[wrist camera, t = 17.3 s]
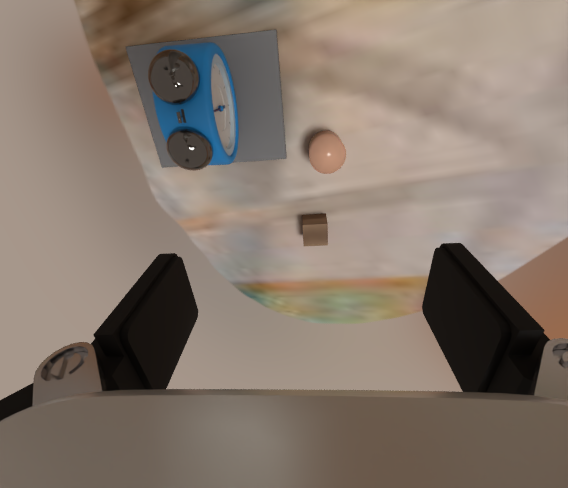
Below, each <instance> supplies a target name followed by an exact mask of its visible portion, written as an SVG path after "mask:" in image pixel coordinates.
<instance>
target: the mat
mask: <svg viewBox="0 0 568 488" xmlns="http://www.w3.org/2000/svg"><path fill="white" fill-rule="evenodd" d="M208 42H211V43H215V44H217V45H218V46H219V47H220V49H221V50H222V52H223V53H224V55H225V58H226V60H227V63H228V66H229V69H230V73H231V76H232V81H233V85H234V90H235V96H236V103H237V112H238V127H239V138H238V149H237V154H236V157H235V159H234V161H233V162H247V161H261V160H275V159H286V145H285V132H284V119H283V107H282V94H281V81H280V68H279V56H278V43H277V30H269V31H260V32H251V33H242V34H233V35H224V36H216V37H207V38H198V39H189V40H180V41H172V42H163V43H154V44H145V45H136V46H127V47H126V50H127V54H128V57H129V60H130V64H131V67H132V70H133V74H134V77H135V80H136V83H137V87H138V90H139V93H140V97H141V100H142V103H143V107H144V110H145V113H146V116H147V120H148V123H149V126H150V130H151V133H152V136H153V140H154V143H155V146H156V150H157V153H158V156H159V159H160V163H161V166H162V168H163V167H177V166H178V165H176V164H175V163H174V162H173V161H172V160H171V158H170V157H169V155H168V153H167V148H166V141H165V139H164V136H163V134H162V131H161V128H160V125H159V122H158V118H157V114H156V110H155V105H154V99H153V91H152V89H151V86H150V83H149V80H148V69H149V65H150V63H151V61H152V59H153V58H154V57H155V56H156V54H157V52H158V51H159V50H160V49H161V48H162V47H164V46H170V45H183V44H196V43H208ZM233 162H232V163H233Z"/></svg>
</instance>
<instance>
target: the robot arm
mask: <svg viewBox="0 0 568 488" xmlns="http://www.w3.org/2000/svg"><path fill="white" fill-rule="evenodd" d="M422 309H423V314H424V316H425V318H426V320H427V322H428V324H429V326H430V328H431V330H432V332H433V333H434V336H435V338H436V340H437V342H438V344H439V346H440V347H441V349H442V351H443V353H444V355H445V357H446V359H447V361H448V363H449V365H450V367H451V369H452V371H453V373H454V375H455V377H456V379H457V381H458V383H459V385H460V387H461V389H462V391H463V392H445V391H375V390H263V389H261V390H260V389H248V390H247V389H166V388H167V386H168V383H169V381H170V379H171V377H172V374H173V372H174V370H175V367H176V365H177V363H178V361H179V358H180V356H181V354H182V352H183V349H184V347H185V345H186V343H187V340H188V338H189V335H190V333H191V331H192V329H193V327H194V324H195V322H196V320H197V317H198V309H197V305H196V302H195V299H194V295H193V292H192V289H191V286H190V282H189V279H188V276H187V273H186V270H185V266H184V263H183V260H182V258H181V257H178V256H177V254H175V253H173V254H172V253H171V254H159V255H158V256H157V257H156V259H155V260H154V261H153V262H152V264H151V265H150V266H149V267H148V269H147V270H146V271H145V272H144V273H143V275H142V276H141V277H140V278H139V279H138V281H137V282H136V283H135V284H134V286H133V287H132V288H131V289H130V291H129V292H128V293H127V294H126V295H125V297H124V298H123V299H122V300H121V302H120V303H119V304H118V306H117V307H116V308H115V309H114V310H113V311H112V313H111V314H110V315H109V316H108V318H107V319H106V320H105V321H104V323H103V324H102V325H101V326H100V327H99V329H98V330H97V331H96V332H95V333H94V337H95V340H94V341H93V342H92V343H91V344H89V343H87V342H79V343H73V344H70V345H68V346H65V347H63V348H61V349H59V350H57V351H55V352H54V353H53V354H51V355H50V356H49V357H47V358H46V359H45V360H44V361H43V362H42V363H41V364H40V366H39V367H38V368H37V370H36V372H35V375H34V383H32V384H30V385H28V386H27V387H25V388H23V389H21V390H19V391H17V392H15V393H13V394H11V395H9V396H8V397H6V398H4V399H2V400H0V488H568V339H563V338H560V339H552V340H550V339H549V338H548V337H547V336H546V335H545V334H544V333H543V332H544V329H543V328H542V327H541V326H540V325H539V324H538V323H537V322H536V321H535V320H534V319H533V318H532V317H531V316H530V315H529V314H528V313H527V311H526V310H525V309H524V308H523V307H522V306H521V305H520V304H519V303H518V302H517V301H516V300H515V299H514V298H513V297H512V296H511V295H510V294H509V293H508V292H507V291H506V290H505V288H504V287H503V286H502V285H501V284H500V283H499V282H498V281H497V280H496V279H495V278H494V277H493V276H492V275H491V274H490V273H489V272H488V271H487V270H486V269H485V267H484V266H483V265H482V264H481V263H480V262H479V261H478V260H477V259H476V258H475V257H474V256H473V255H472V254H471V253H470V252H469V251H468V250H467V249H466V248H465V247H464V245H462V244H461V243H446V244H441V246H440V248H436V249H435V251H434V255H433V260H432V264H431V269H430V273H429V278H428V282H427V287H426V291H425V296H424V300H423V305H422Z"/></svg>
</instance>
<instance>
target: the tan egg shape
mask: <svg viewBox="0 0 568 488" xmlns="http://www.w3.org/2000/svg"><path fill="white" fill-rule="evenodd" d="M309 158H310V162H311V165H312V166H313V168H314V169H315V170H317V171H318V172H320V173H324V174H329V173H333V172H335V171H337V170H338V169H340V168H341V166H342V165H343V164H344V162H345V158H346V149H345V147H344V145H343V143H342V141H341V140H340V138H339V137H338V135H337V134H335V133H334V132H332V131H327V130H325V131H320V132H318V133H317V134H315V135H314V136H313V137H312V139H311V141H310V143H309Z"/></svg>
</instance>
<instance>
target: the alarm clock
mask: <svg viewBox="0 0 568 488" xmlns="http://www.w3.org/2000/svg"><path fill="white" fill-rule="evenodd" d="M148 80H149V83H150V86H151V89H152V91H153V99H154V105H155V110H156V114H157V118H158V122H159V125H160V128H161V131H162V134H163V136H164V139H165V141H166V148H167V153H168V155H169V157H170V158H171V160H172V161H173V162H174V163H175V164H176V165H178V166H180V167H181V168H184V169H187V170H200V169H203V168H205V167H206V166H207V165H226V164H231V163H232V162H233V161H234V159H235V157H236V154H237V149H238V138H239V127H238V112H237V103H236V96H235V90H234V85H233V81H232V76H231V73H230V69H229V66H228V63H227V60H226V58H225V55H224V53H223V52H222V50H221V49H220V47H219V46H218V45H217V44H215V43H211V42H208V43H196V44H183V45H170V46H164V47H162V48H161V49H160V50H159V51H158V52H157V54H156V56H155V57H154V58H153V59H152V61H151V63H150V65H149V69H148Z"/></svg>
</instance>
